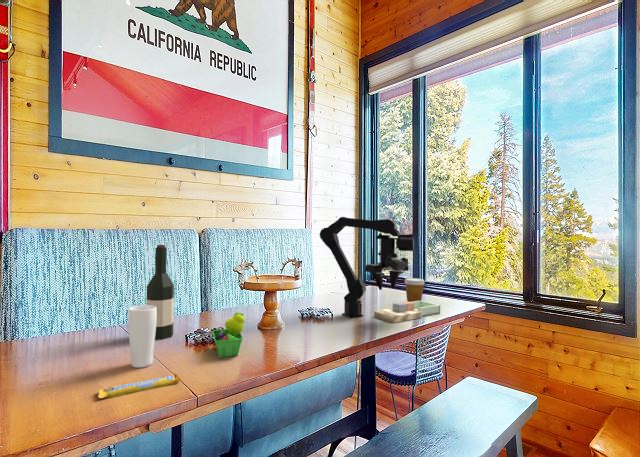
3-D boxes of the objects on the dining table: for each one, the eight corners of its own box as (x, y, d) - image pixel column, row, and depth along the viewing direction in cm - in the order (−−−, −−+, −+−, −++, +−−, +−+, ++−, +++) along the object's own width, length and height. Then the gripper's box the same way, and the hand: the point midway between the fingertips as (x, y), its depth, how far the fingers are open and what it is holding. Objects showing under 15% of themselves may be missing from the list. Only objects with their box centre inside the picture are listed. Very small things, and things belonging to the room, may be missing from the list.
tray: (418, 316, 154) (419, 308, 154) (400, 311, 163) (400, 303, 163) (440, 313, 161) (440, 305, 161) (420, 308, 170) (421, 300, 170)
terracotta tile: (407, 311, 153) (407, 303, 153) (400, 309, 157) (400, 302, 157) (414, 310, 155) (414, 303, 155) (407, 308, 159) (407, 301, 159)
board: (392, 322, 144) (392, 316, 144) (374, 316, 153) (374, 310, 153) (421, 317, 152) (421, 312, 152) (402, 312, 161) (402, 306, 161)
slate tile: (399, 312, 151) (399, 305, 151) (392, 310, 154) (392, 303, 154) (406, 311, 153) (406, 304, 153) (399, 309, 156) (399, 302, 156)
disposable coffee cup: (426, 303, 180) (427, 279, 180) (420, 307, 172) (421, 281, 172) (407, 301, 185) (408, 277, 185) (401, 304, 177) (401, 279, 177)
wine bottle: (163, 341, 117) (164, 246, 117) (140, 338, 119) (141, 245, 118) (178, 333, 125) (179, 244, 125) (156, 331, 127) (157, 244, 127)
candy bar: (177, 379, 90) (177, 371, 90) (181, 385, 87) (181, 377, 87) (97, 395, 81) (97, 386, 81) (97, 403, 78) (98, 394, 78)
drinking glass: (148, 358, 102) (149, 303, 102) (160, 364, 98) (161, 307, 98) (122, 365, 97) (123, 307, 97) (134, 371, 93) (135, 312, 93)
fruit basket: (211, 346, 113) (212, 309, 112) (241, 344, 116) (241, 307, 116) (215, 359, 102) (215, 318, 102) (247, 356, 105) (248, 316, 105)
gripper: (383, 252, 138) (382, 294, 138) (418, 251, 148) (418, 290, 148) (364, 250, 147) (363, 289, 147) (398, 249, 157) (398, 286, 157)
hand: (386, 289), depth 150 cm, fingers open, 6 cm apart
